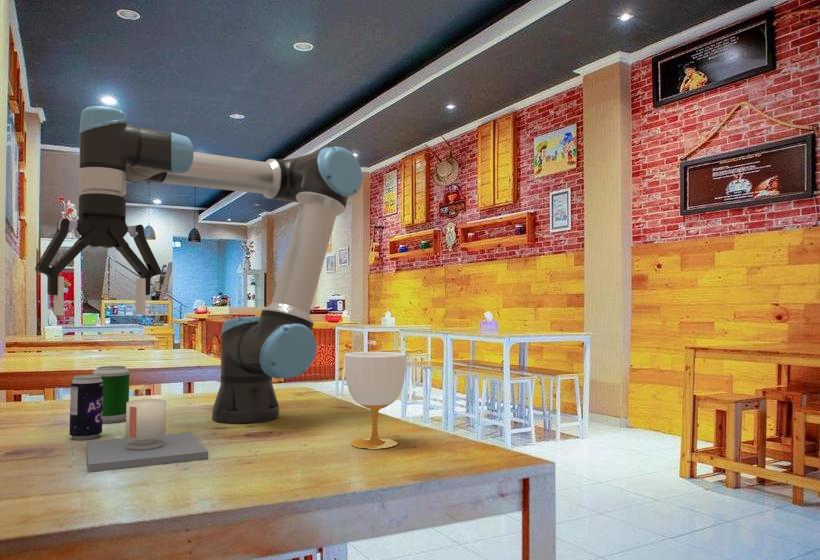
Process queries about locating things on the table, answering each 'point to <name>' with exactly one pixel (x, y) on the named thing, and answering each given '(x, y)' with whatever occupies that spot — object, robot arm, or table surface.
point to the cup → (374, 384)
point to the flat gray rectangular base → (143, 451)
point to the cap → (145, 419)
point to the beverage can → (86, 407)
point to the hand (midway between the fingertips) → (101, 314)
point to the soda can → (114, 392)
